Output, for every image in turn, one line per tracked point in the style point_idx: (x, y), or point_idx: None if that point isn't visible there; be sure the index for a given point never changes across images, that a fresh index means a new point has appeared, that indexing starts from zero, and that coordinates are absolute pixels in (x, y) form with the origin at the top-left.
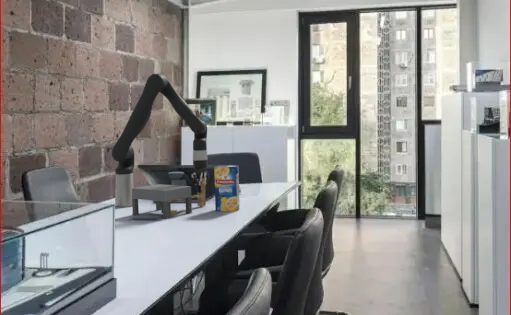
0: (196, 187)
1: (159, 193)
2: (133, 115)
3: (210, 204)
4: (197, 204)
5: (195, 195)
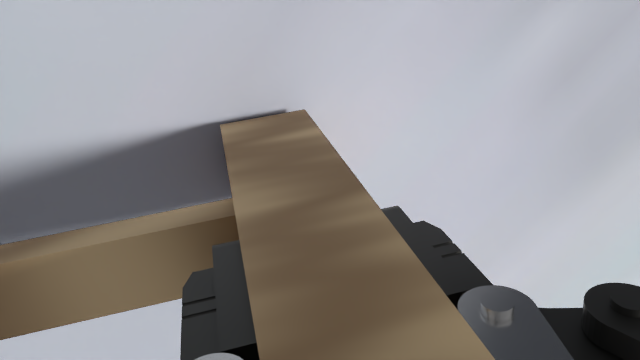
0: (181, 342)
1: None
2: None
3: (466, 98)
4: (221, 130)
5: (98, 299)
